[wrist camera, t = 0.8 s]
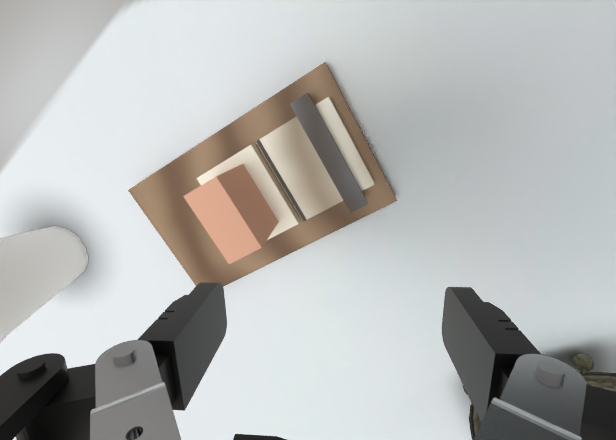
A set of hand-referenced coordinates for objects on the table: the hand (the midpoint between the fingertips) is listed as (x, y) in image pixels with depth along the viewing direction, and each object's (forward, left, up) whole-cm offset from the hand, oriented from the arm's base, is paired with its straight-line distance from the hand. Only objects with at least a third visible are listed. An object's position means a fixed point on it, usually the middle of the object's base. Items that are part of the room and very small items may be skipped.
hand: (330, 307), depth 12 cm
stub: (+8, -3, -19) cm, 21 cm away
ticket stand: (+7, -3, -20) cm, 22 cm away
